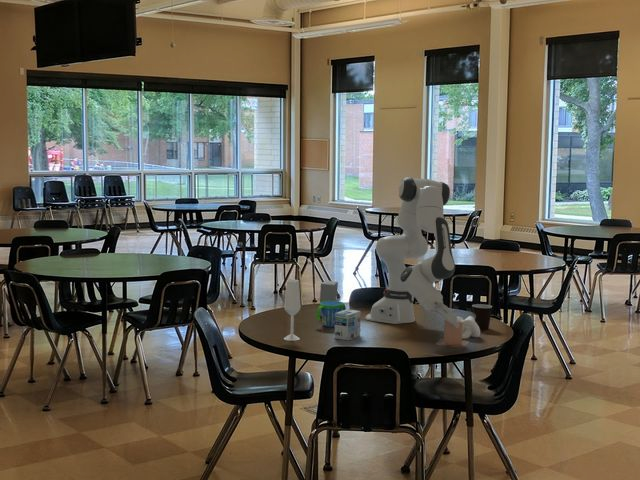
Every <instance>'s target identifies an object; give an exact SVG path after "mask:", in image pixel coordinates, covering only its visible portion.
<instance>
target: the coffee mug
mask: <svg viewBox="0 0 640 480" xmlns="http://www.w3.org/2000/svg"><path fill="white" fill-rule="evenodd" d="M471 308H472V317H473V318H474V319H475V322H476V323H477V325H478V326H479V328H480V331H488V330H489V329H490V324H491V323H490V321H491V317H492V310H493V305H490V304H481V303H480V304H479V303H477V304H472V305H471Z"/></svg>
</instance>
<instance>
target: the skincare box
mask: <svg viewBox="0 0 640 480" xmlns="http://www.w3.org/2000/svg"><path fill="white" fill-rule="evenodd" d="M338 284H339V282H338V281H336V280H335V281H334V280H324V281H323V282H321V283H320V291H319V294H320V295H319V303H320V302H323V301H338V288H339V287H338V286H339V285H338ZM320 318H322V316H321V310H320Z"/></svg>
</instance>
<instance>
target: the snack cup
mask: <svg viewBox="0 0 640 480" xmlns="http://www.w3.org/2000/svg"><path fill="white" fill-rule="evenodd" d="M346 307H347V306H346V305H345V304H344V302H343V301H338V300H337V301H323V302H320V301H319V306H318V307H317V310H316V314H315V319H316V320H317V321H320V320H322V321H321V322H322V326H323V327H327V328H335V313H337V312H340V311H343V310H347V308H346ZM320 310H321V316H322V317H321V316H320Z"/></svg>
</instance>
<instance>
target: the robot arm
mask: <svg viewBox="0 0 640 480" xmlns="http://www.w3.org/2000/svg"><path fill="white" fill-rule="evenodd" d="M449 186H450V185H448V184H447V183H445V182H443V181H437V180H434V179H430V178H429V179H428V178H416V177H415V178H413V177H409V176H408V177H403V179H402V180H401V181H400V183H399V185H398V197H399V199H400V200H402V202H401V206H400V209H399V212H398V215H397V219H396V221H397V225H398V227H399V228H401V230H403V231H402V234H397V235H386V236H384V237H381V238H379V239H378V240H377V242H376V243H375V244H376V245H375V253H376V255H377V256H378V257H379V258H380V259H381V260H382V261H383V262H384V264H385V266H386V269H387V272H388V273H387V274H388V287H386V288H385V289H384V291H383V297H382V298H380V299H379V300H378V301H376V302H375V303H373V305H372V307H371V308H370V309H371V311H370V313H368V314H367V315H366V316H365V320H366V321H371V322H372V321H373V322H378V323H379V322H380V323H384V324H385V323H386V324H394V325H398V324H409V323H414V322H416V319H415V317H416V316H415V312H414V299H415V300H416V301H417V302H418V304H419V305H420V306H421V307H422V308H423V309H424V310H425V312H431V313H432V314H433V313H434V314H435V315H437V316H438V317H440V318H441V319H442V320H446V321H447V322H449V323H451V324H453V325H454V326H455V327H456V328H458V327H459V326H460V325H459V323H458V322H457V321H456V319H457V317H458V316H457V315H456V314H455V313H454V312H453V311H452V310H451V309H450V308H449V306H447V305H445V304H444V300H443V299H444V297H443V295H442V293H440V291H438V289H437V288H436V287H435V286H434V285H433V284H434V283H435V282H438V281H440V280H445V279H446V280H447V279H449V278H451V277H452V276H453V275H454V272H455V270H456V264H455V260H454V259H455V258H454V257H453V252H452V243H451V233H450V227H449V224H448V222H447V219H445V218H444V206H445V205H446V204H448V202H449V200H450V196H451V190H450V189H451V188H450V187H449ZM422 231H423V232H427V233H430V234H434V241H435V250H436V252H435V254H434V255H433V256H431V257H428V258H425V259H423V260H421V261H418V262H417V263H416V264H414V265H409V266H407V267H406V264H405V260H414V259H419V258H421V257H424V256H425V255H427V252H428V249H429V246H428V245H429V244H428V242H427V239H426V237H425V236H423V233H422Z"/></svg>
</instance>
